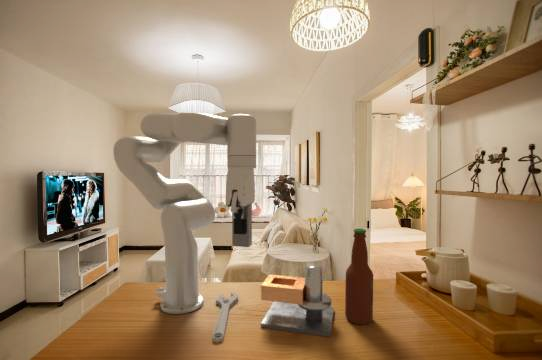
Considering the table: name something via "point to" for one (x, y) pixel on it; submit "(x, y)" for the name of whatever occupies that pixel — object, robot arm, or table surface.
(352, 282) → the bottle
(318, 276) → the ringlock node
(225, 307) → the adjustable wrench
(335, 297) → the table surface
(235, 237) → the grey rectangular block
